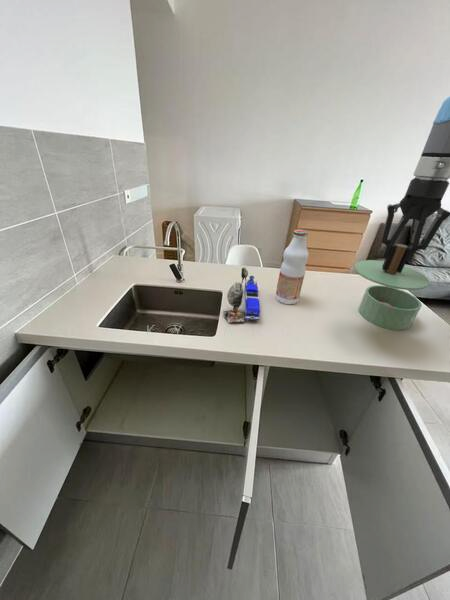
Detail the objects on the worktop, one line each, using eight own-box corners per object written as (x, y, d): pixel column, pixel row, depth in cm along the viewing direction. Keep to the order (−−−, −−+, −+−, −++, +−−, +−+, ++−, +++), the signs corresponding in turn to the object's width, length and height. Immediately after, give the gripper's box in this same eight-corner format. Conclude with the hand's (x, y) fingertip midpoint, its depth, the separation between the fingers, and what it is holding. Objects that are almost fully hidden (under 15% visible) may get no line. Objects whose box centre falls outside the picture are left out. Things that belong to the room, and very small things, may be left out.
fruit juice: (282, 306, 95) (296, 235, 80) (271, 294, 103) (282, 227, 88) (302, 303, 98) (320, 234, 83) (290, 292, 105) (304, 227, 91)
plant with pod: (244, 307, 93) (249, 258, 83) (245, 325, 83) (252, 272, 73) (223, 306, 93) (225, 257, 82) (222, 324, 83) (225, 271, 73)
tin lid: (420, 271, 75) (435, 242, 70) (434, 299, 60) (454, 264, 55) (354, 259, 81) (363, 231, 76) (352, 281, 67) (363, 249, 62)
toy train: (255, 288, 106) (257, 272, 102) (258, 323, 85) (261, 304, 81) (243, 288, 106) (245, 271, 102) (244, 322, 85) (246, 303, 81)
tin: (407, 311, 97) (416, 292, 92) (414, 336, 83) (426, 315, 78) (358, 299, 103) (365, 281, 98) (358, 320, 89) (366, 301, 85)
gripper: (393, 177, 57) (360, 268, 70) (479, 183, 52) (427, 281, 64) (390, 175, 63) (360, 259, 75) (468, 180, 57) (421, 271, 70)
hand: (391, 269), depth 70 cm, fingers closed on tin lid, 3 cm apart
